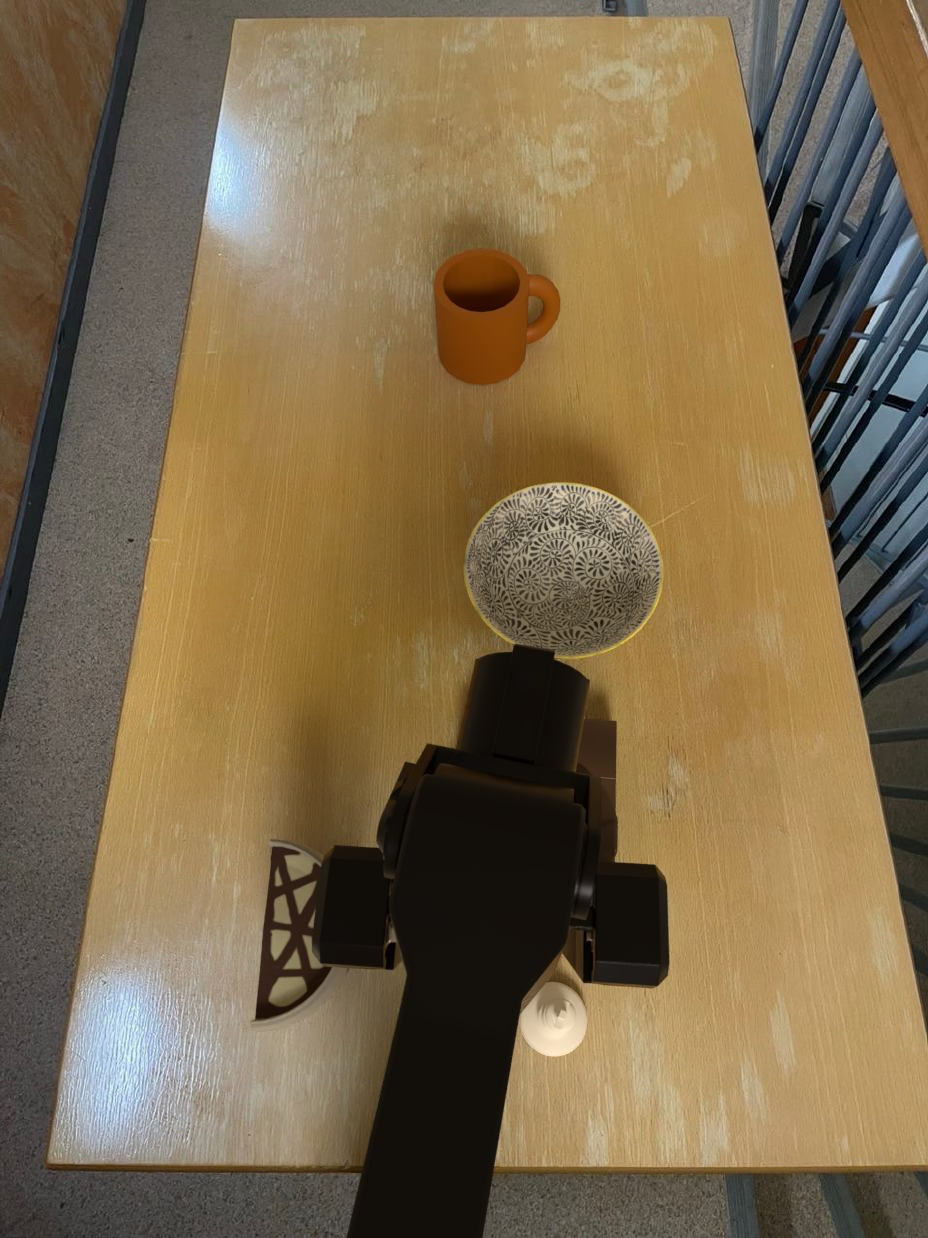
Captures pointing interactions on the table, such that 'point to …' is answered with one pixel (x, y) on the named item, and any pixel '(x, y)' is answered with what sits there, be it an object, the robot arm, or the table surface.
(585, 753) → the holder
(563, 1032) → the chess piece
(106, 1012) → the table surface
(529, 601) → the bowl
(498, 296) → the mug
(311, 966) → the food container
